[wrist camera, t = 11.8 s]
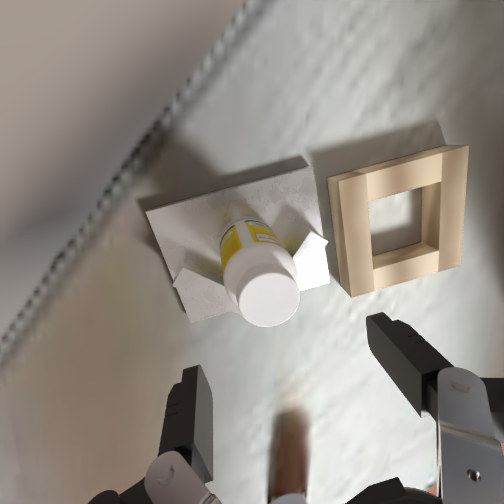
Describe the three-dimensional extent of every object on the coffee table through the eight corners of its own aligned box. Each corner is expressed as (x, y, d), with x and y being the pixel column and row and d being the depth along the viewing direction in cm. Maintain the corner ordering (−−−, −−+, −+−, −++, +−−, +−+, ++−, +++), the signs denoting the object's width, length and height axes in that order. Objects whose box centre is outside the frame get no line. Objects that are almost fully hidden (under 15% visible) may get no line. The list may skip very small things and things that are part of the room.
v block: (309, 165, 25) (323, 169, 22) (326, 280, 30) (340, 297, 27) (147, 209, 25) (138, 219, 21) (192, 319, 30) (190, 341, 26)
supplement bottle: (229, 278, 27) (239, 347, 18) (211, 228, 25) (213, 277, 16) (281, 262, 27) (317, 321, 18) (268, 210, 25) (301, 248, 16)
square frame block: (446, 144, 27) (468, 145, 24) (441, 256, 31) (460, 265, 29) (326, 177, 26) (338, 181, 24) (340, 285, 31) (351, 297, 28)
